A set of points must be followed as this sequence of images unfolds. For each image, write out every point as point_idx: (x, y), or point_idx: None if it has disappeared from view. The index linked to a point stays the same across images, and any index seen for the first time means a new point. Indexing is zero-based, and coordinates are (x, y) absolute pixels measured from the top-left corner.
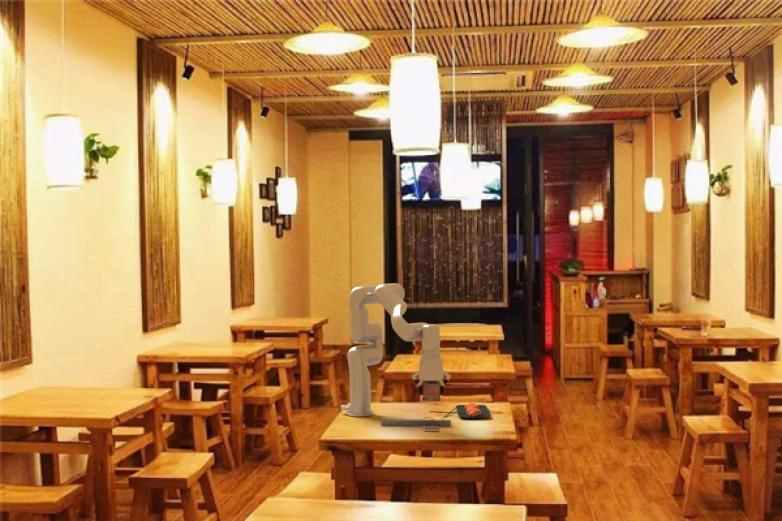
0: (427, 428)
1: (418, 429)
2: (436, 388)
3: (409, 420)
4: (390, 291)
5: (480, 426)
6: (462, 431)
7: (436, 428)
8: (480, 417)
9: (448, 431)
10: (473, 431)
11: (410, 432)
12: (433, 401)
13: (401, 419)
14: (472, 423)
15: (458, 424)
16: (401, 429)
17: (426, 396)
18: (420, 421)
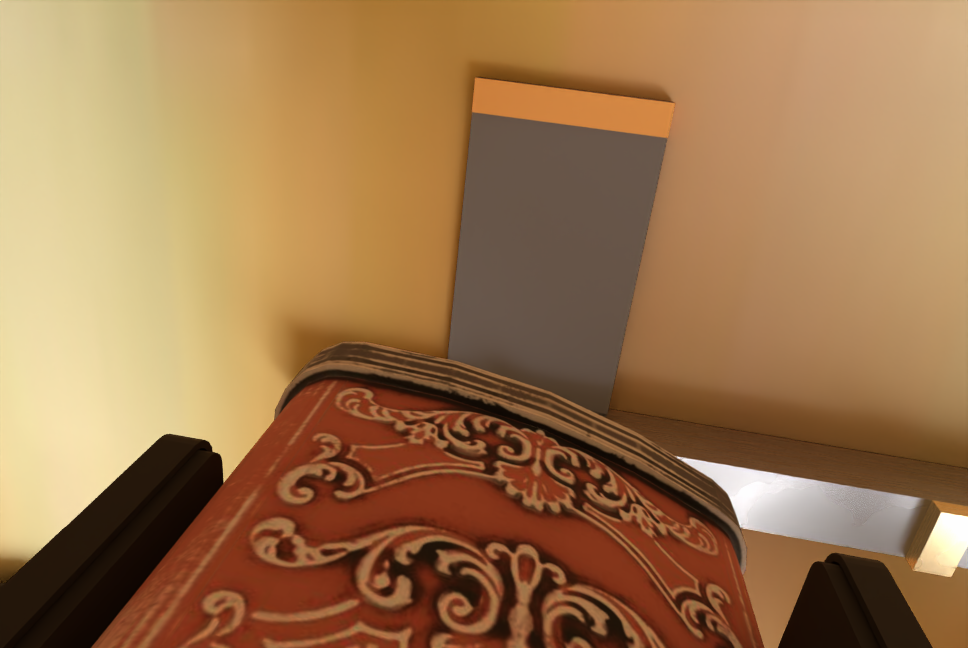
0: (604, 240)
1: (720, 252)
2: (233, 620)
3: (816, 480)
4: None
5: (12, 326)
6: (173, 86)
7: (487, 230)
8: None
9: (344, 100)
10: (45, 76)
11: (879, 73)
12: (470, 366)
13: (909, 545)
14: (108, 461)
15: (240, 440)
16: (955, 275)
17: (651, 524)
18: (668, 448)
